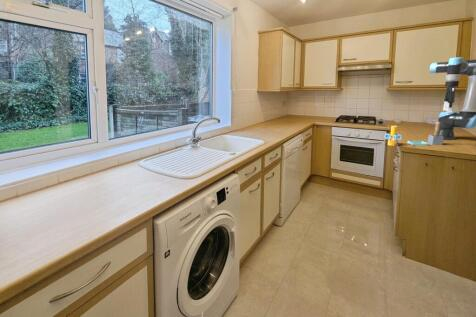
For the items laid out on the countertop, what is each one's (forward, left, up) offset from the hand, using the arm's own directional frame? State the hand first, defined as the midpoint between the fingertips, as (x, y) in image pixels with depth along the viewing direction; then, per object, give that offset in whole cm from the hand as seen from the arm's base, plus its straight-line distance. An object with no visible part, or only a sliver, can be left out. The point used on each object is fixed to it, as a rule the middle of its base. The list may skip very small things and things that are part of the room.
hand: (447, 111), depth 199 cm
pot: (-5, -6, -27) cm, 28 cm away
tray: (+5, -14, -27) cm, 30 cm away
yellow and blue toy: (+18, -28, -27) cm, 42 cm away
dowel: (-5, -6, -26) cm, 27 cm away
